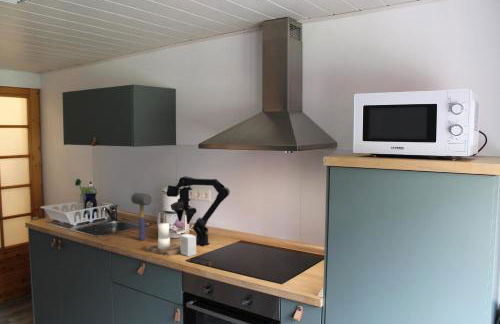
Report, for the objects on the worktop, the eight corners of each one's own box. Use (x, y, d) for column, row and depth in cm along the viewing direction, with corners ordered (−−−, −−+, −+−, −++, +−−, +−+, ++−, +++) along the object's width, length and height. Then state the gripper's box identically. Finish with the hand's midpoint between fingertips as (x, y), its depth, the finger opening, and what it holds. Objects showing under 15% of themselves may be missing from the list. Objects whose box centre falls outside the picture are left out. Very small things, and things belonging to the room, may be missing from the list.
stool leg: (170, 249, 233) (169, 222, 232) (169, 253, 227) (169, 225, 226) (158, 250, 232) (157, 222, 231) (157, 253, 225) (157, 225, 224)
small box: (196, 254, 224) (196, 236, 224) (187, 256, 221) (187, 237, 220) (188, 251, 230) (188, 233, 230) (180, 253, 227) (179, 235, 226)
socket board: (187, 249, 234) (187, 246, 234) (168, 256, 221) (168, 252, 221) (165, 245, 244) (165, 242, 244) (146, 251, 232) (146, 247, 231)
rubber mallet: (153, 240, 255) (152, 193, 253) (143, 243, 249) (143, 194, 247) (140, 237, 262) (139, 191, 261) (131, 240, 256) (130, 192, 254)
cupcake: (179, 231, 279) (178, 217, 278) (189, 233, 275) (189, 218, 274) (171, 234, 271) (170, 219, 270) (181, 235, 267) (181, 221, 266)
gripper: (164, 196, 247) (164, 221, 248) (180, 200, 233) (180, 227, 234) (180, 194, 254) (180, 219, 255) (197, 198, 240) (196, 224, 241)
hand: (183, 222), depth 246 cm, fingers open, 9 cm apart
